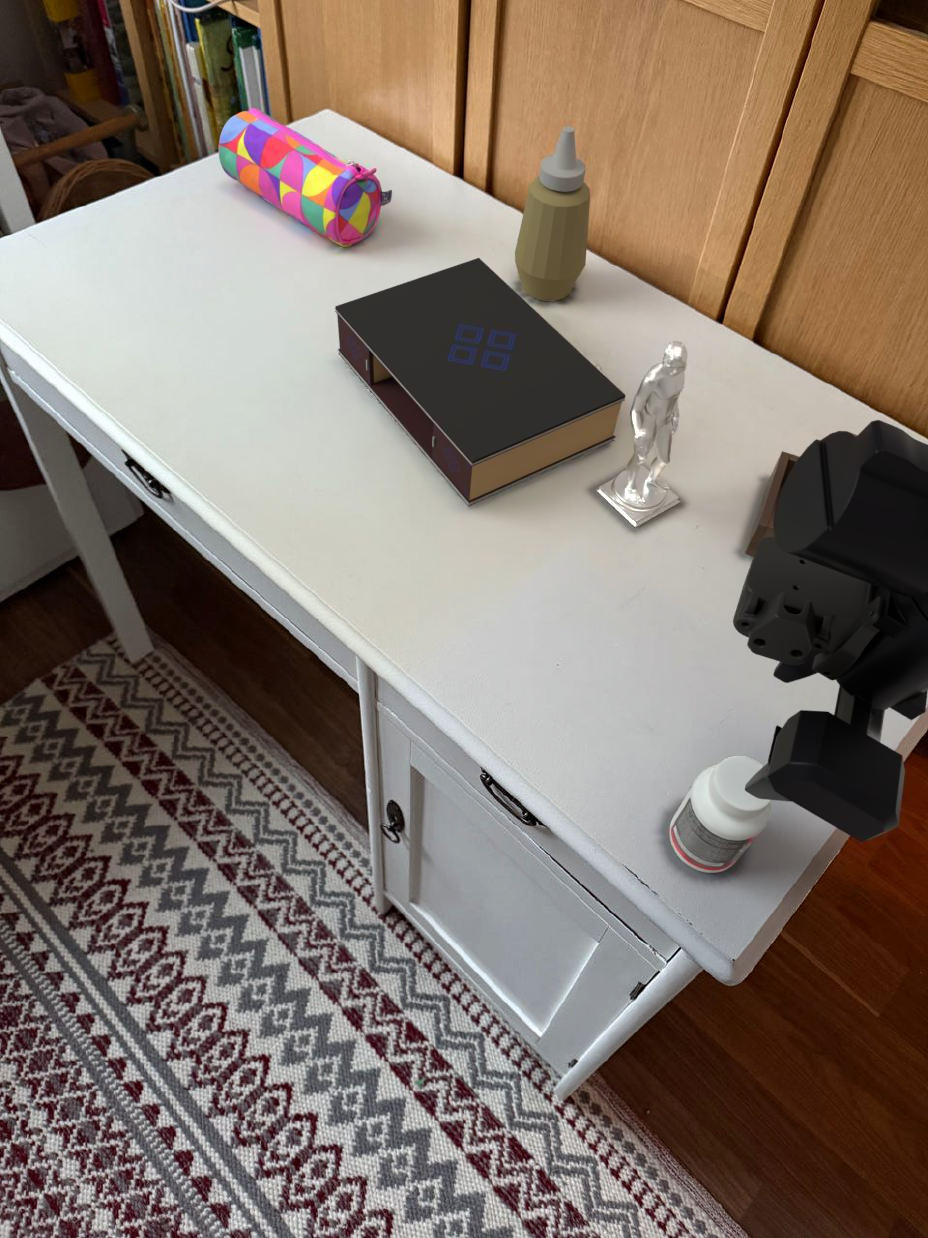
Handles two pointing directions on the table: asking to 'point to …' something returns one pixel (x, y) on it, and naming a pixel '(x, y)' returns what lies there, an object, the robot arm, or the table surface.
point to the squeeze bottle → (554, 225)
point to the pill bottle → (719, 816)
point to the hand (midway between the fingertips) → (766, 732)
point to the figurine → (650, 441)
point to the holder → (770, 501)
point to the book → (477, 378)
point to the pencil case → (301, 177)
